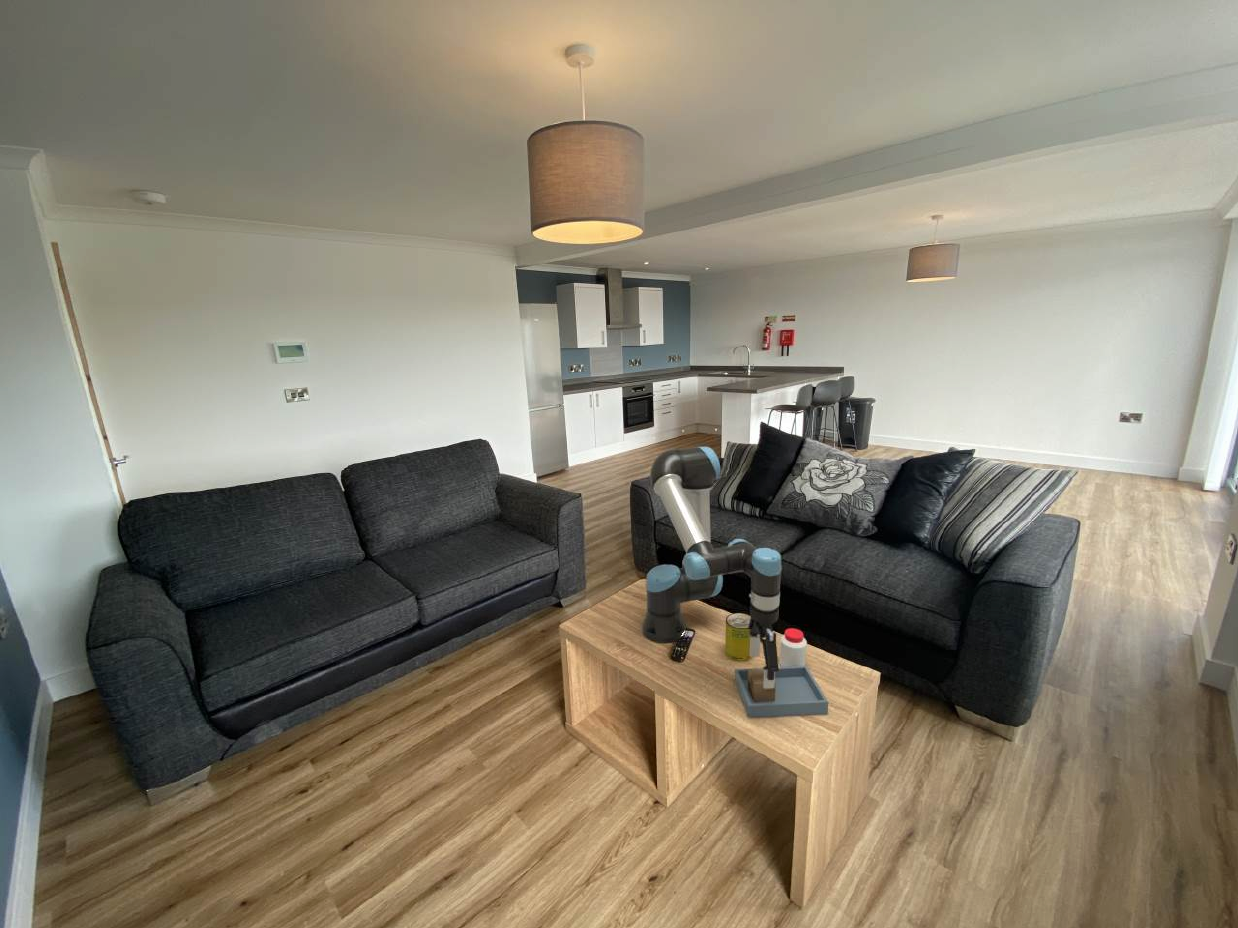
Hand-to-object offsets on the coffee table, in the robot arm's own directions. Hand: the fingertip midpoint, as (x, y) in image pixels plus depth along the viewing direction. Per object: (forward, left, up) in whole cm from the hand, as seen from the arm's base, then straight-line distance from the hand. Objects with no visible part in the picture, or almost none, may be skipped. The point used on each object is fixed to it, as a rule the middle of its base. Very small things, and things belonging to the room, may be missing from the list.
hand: (761, 670), depth 144 cm
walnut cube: (0, 0, -7) cm, 8 cm away
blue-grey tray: (0, +5, -8) cm, 10 cm away
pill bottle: (-14, +14, -8) cm, 21 cm away
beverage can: (-21, -1, -8) cm, 22 cm away
